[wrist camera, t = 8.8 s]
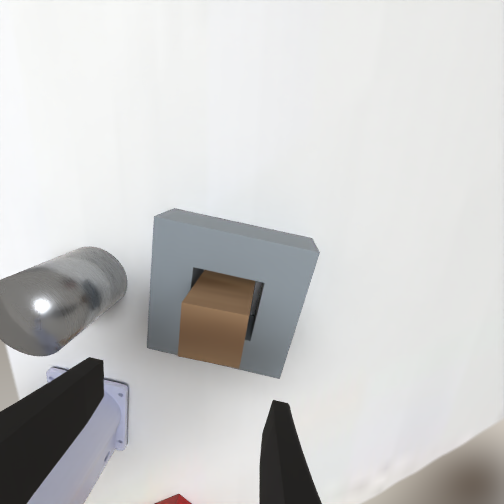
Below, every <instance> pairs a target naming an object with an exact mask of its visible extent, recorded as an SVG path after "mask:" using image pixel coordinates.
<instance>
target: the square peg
mask: <svg viewBox="0 0 504 504" xmlns="http://www.w3.org/2000/svg"><path fill="white" fill-rule="evenodd" d="M254 287H255V281H254V280H249V279H245V278H240V277H236V276H231V275H227V274H222V273H218V272H213V271H209V270H204V272H203V273H202V274H201V276H200V277H199V279H198V280H197V281H196V283H195V284H194V286H193V287H192V288H191V290H190V291H189V293H188V294H187V296H186V297H185V298H184V300H183V301H182V303H181V317H180V332H179V346H178V356H180V357H185V358H190V359H195V360H199V361H204V362H209V363H214V364H219V365H224V366H229V367H234V368H238V369H239V367H240V362H241V357H242V352H243V346H244V341H245V336H246V330H247V325H248V320H249V314H250V309H251V303H252V298H253V292H254Z"/></svg>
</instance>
